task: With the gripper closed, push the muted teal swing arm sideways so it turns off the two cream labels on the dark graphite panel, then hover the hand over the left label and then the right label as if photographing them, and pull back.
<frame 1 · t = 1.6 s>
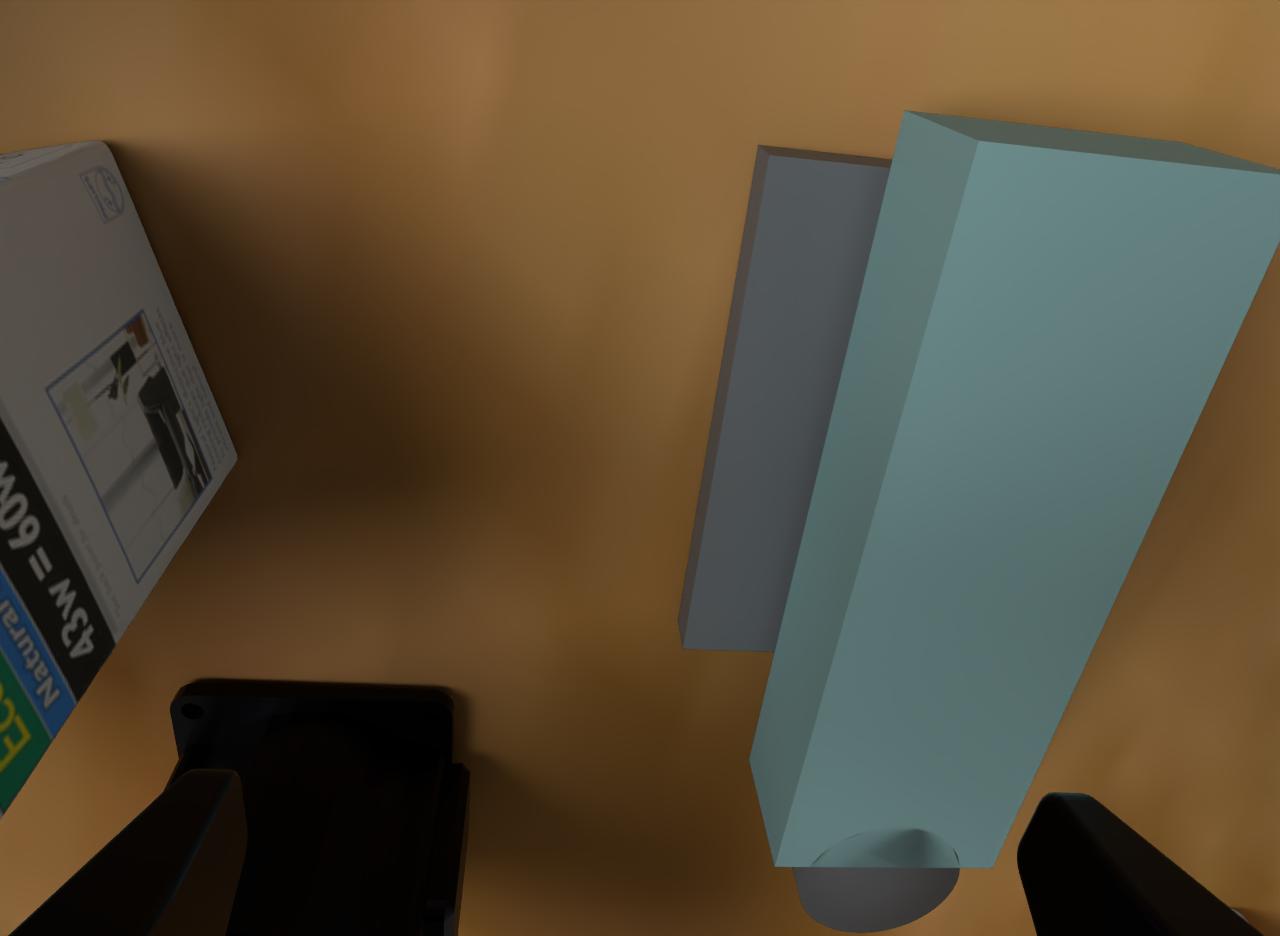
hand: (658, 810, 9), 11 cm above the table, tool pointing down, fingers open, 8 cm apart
swing arm: (938, 593, 18), point 3 cm above the table, hinge at 0.0°
label panel: (914, 430, 19), on the table
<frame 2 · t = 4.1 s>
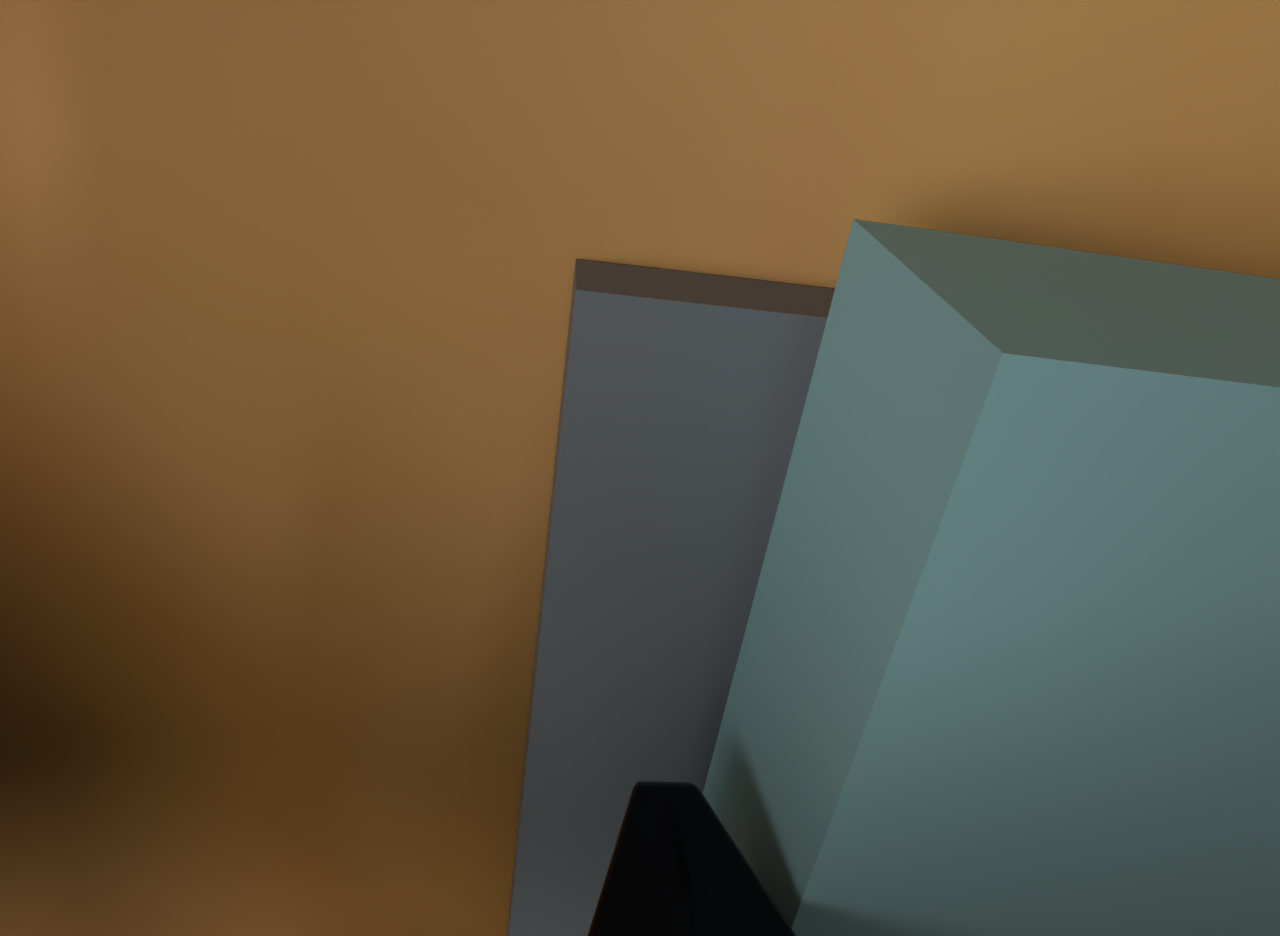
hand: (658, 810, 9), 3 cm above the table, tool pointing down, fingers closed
label panel: (864, 692, 12), on the table
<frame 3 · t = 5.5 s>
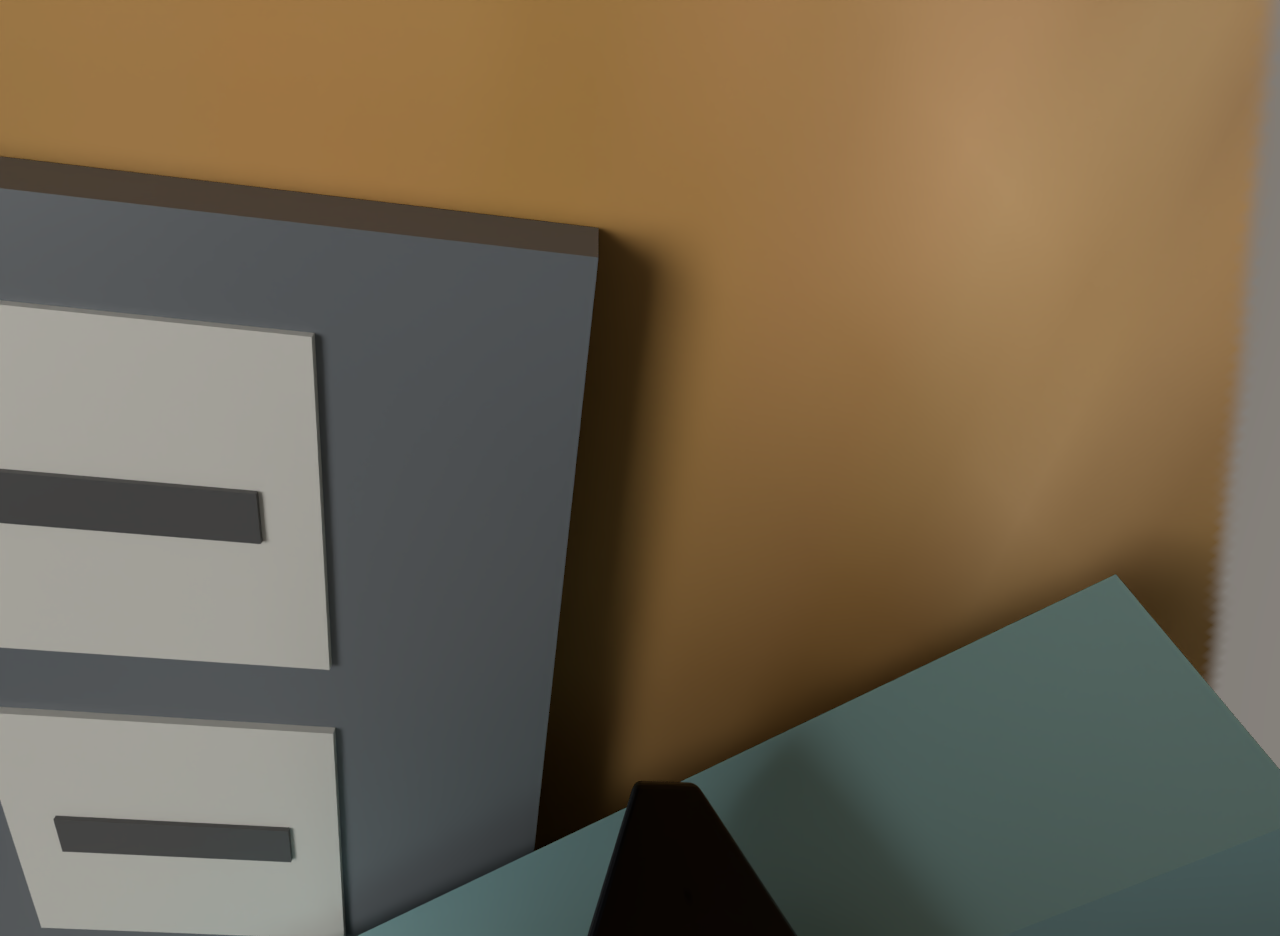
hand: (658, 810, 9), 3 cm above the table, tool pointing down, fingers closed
label panel: (188, 627, 11), on the table
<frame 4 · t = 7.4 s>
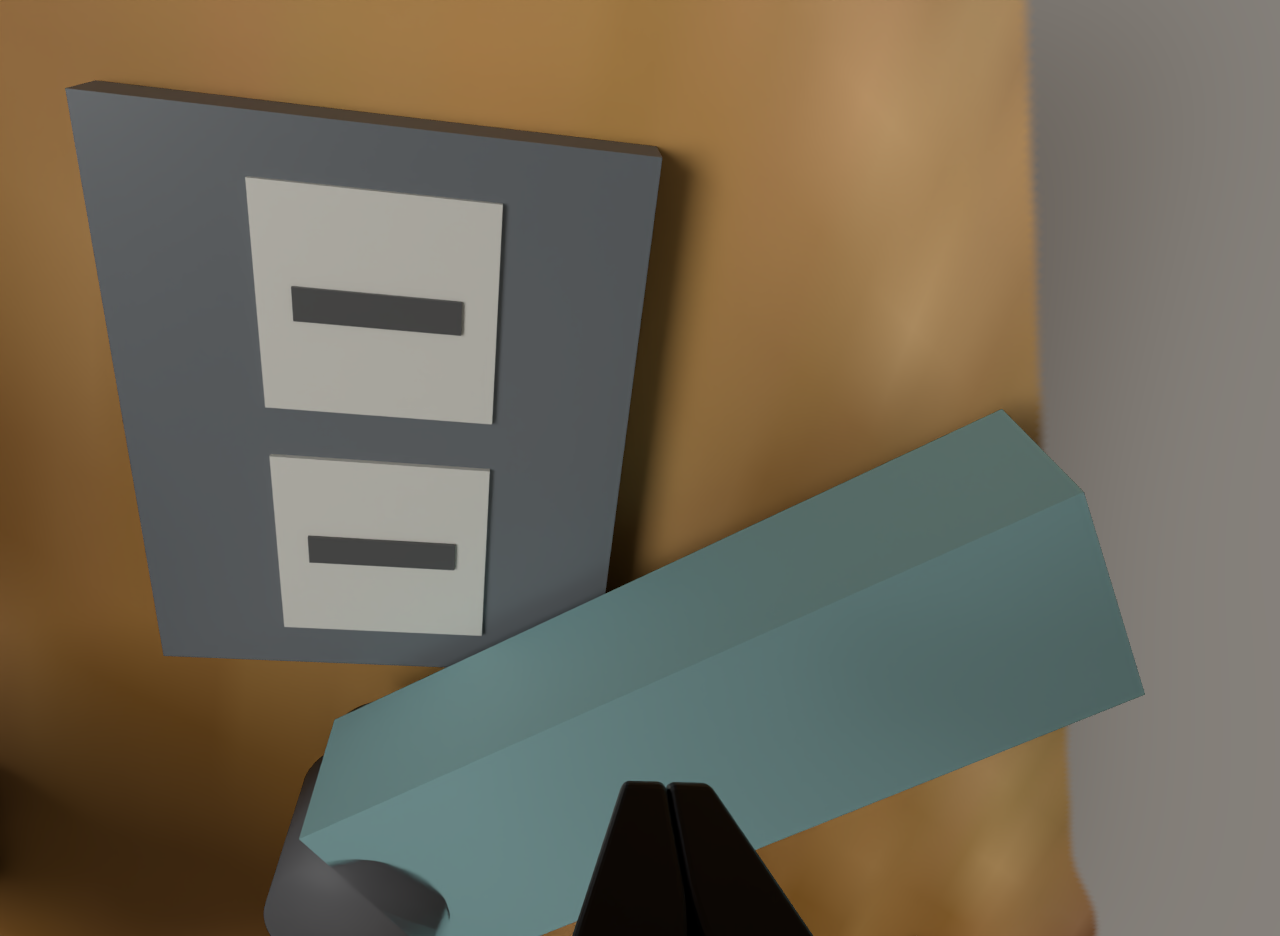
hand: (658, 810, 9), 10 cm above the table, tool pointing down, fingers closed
swing arm: (656, 730, 18), point 3 cm above the table, hinge at -55.6°
label panel: (390, 414, 17), on the table
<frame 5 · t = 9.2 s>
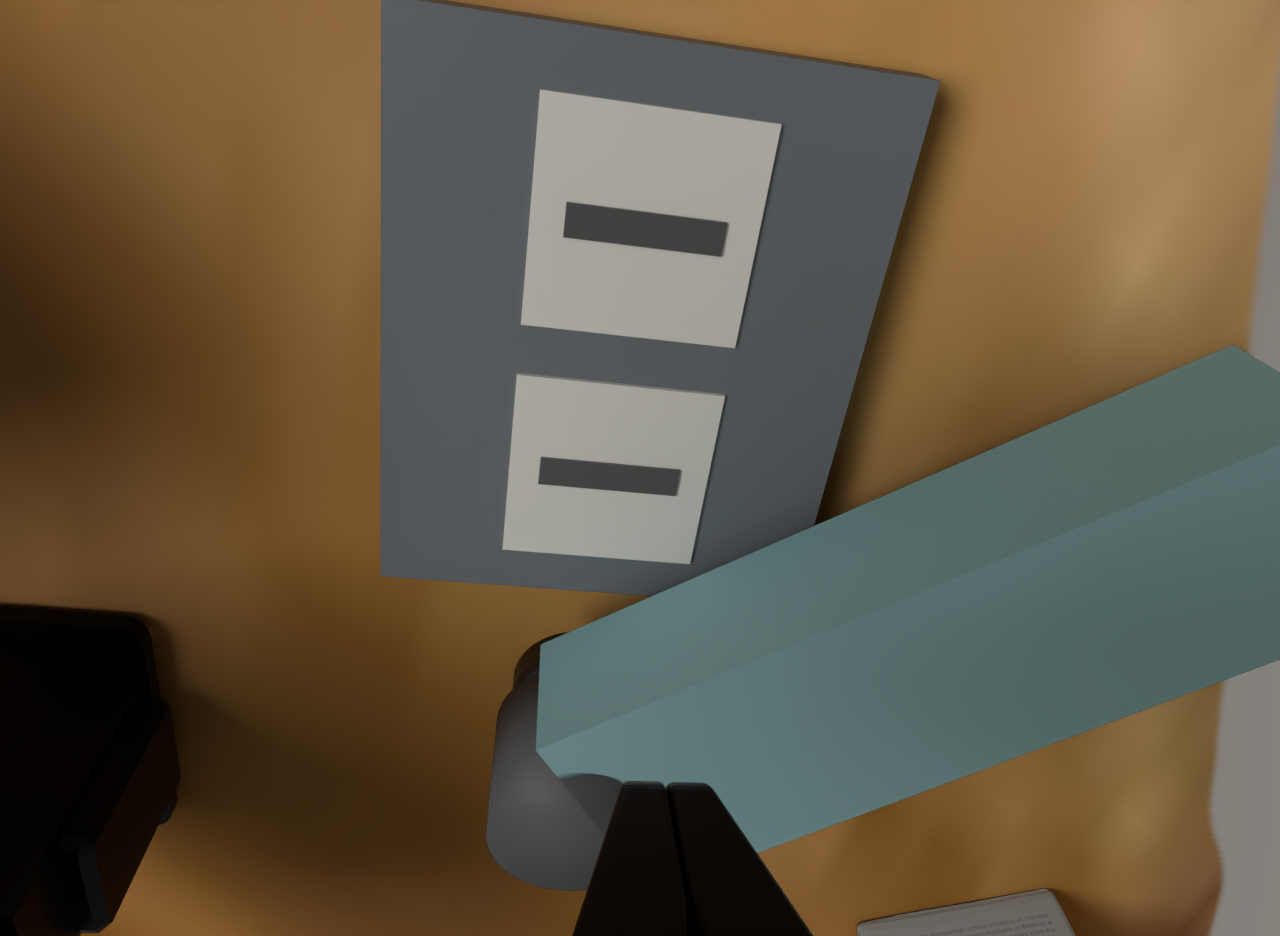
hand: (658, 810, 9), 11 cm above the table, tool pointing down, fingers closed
swing arm: (869, 657, 18), point 3 cm above the table, hinge at -55.6°
label panel: (623, 339, 18), on the table
pivot post: (574, 679, 22), on the table
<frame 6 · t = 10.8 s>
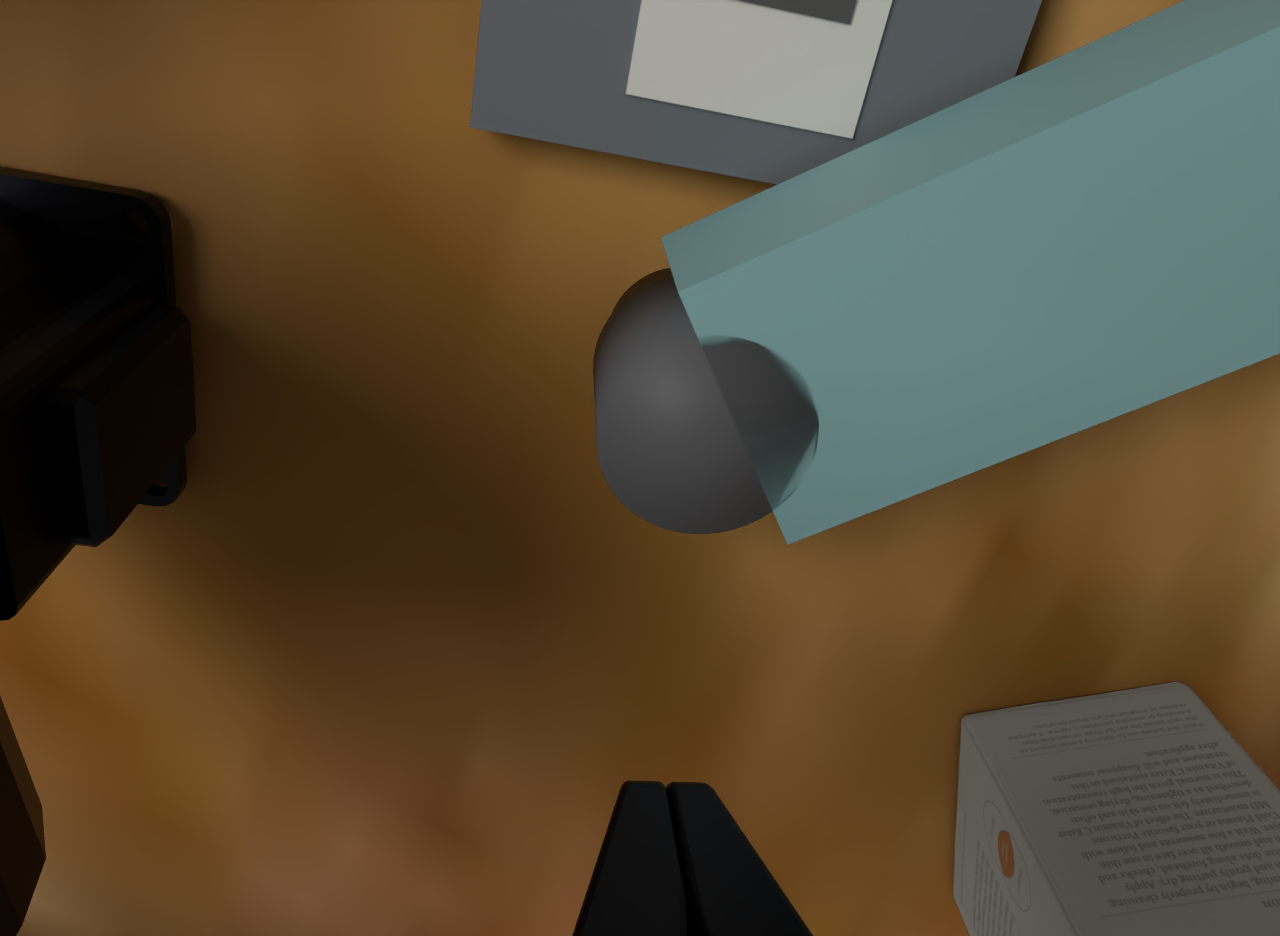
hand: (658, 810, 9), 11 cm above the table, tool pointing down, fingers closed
swing arm: (1081, 239, 15), point 3 cm above the table, hinge at -55.6°
pivot post: (679, 338, 18), on the table
small box: (1057, 787, 26), on the table
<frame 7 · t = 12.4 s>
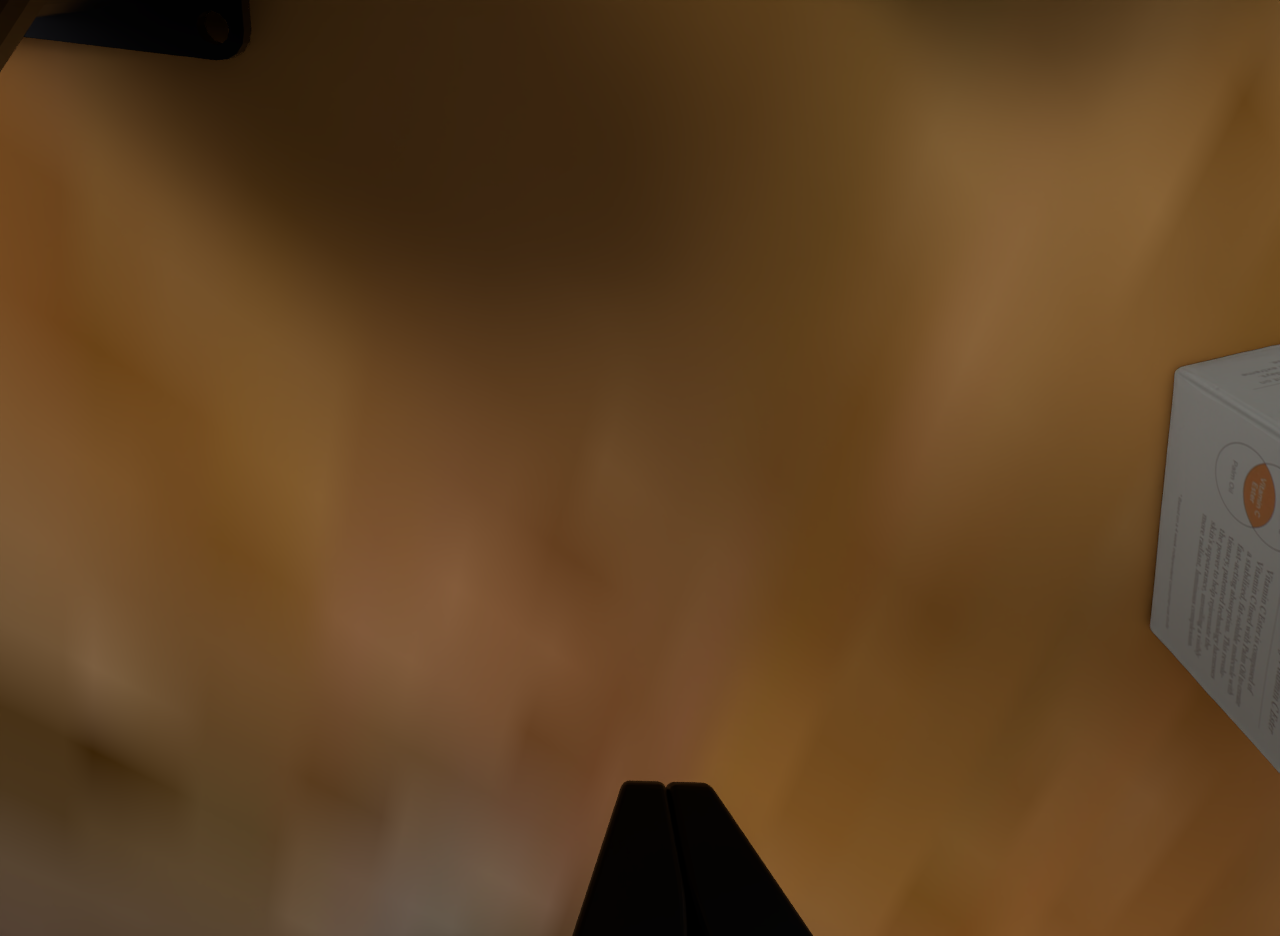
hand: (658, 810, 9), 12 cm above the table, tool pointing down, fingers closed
small box: (1277, 475, 22), on the table
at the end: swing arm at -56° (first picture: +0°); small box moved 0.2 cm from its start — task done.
